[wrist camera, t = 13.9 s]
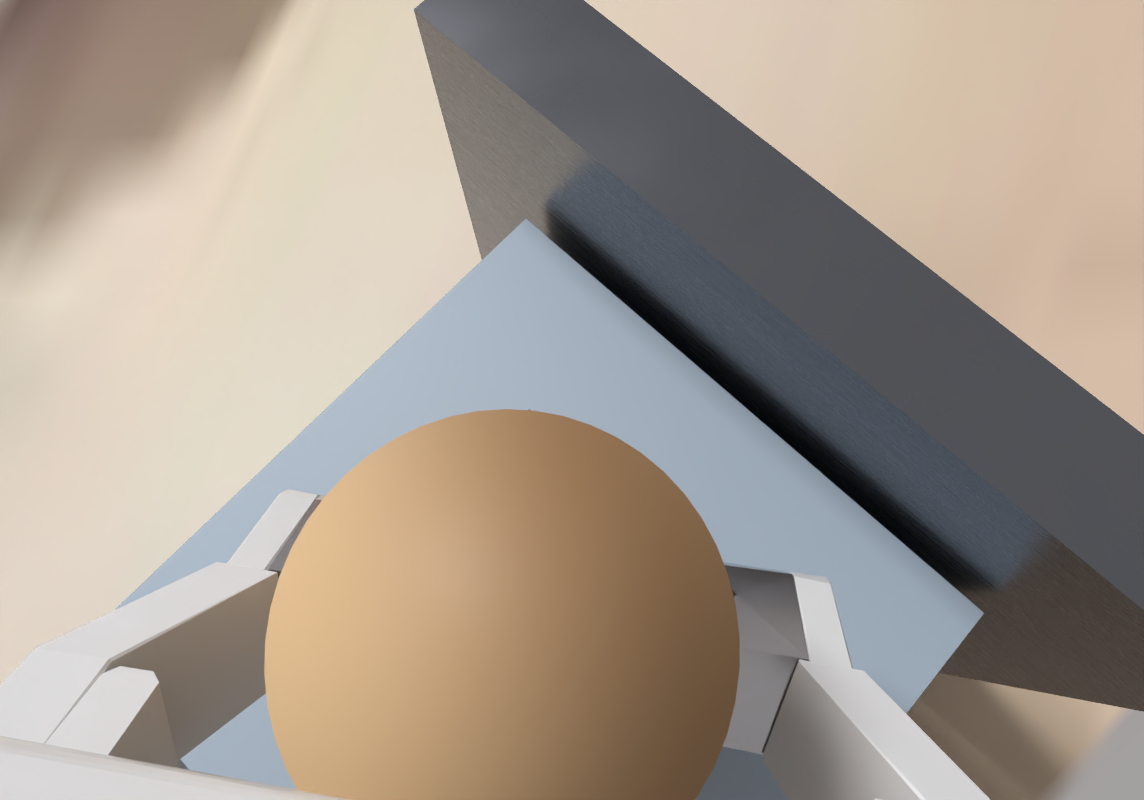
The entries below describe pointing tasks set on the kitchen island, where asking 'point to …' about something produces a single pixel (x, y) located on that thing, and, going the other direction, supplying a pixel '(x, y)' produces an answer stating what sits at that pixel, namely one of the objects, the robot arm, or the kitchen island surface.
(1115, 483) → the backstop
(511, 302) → the socket block
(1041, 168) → the kitchen island surface
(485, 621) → the dowel
